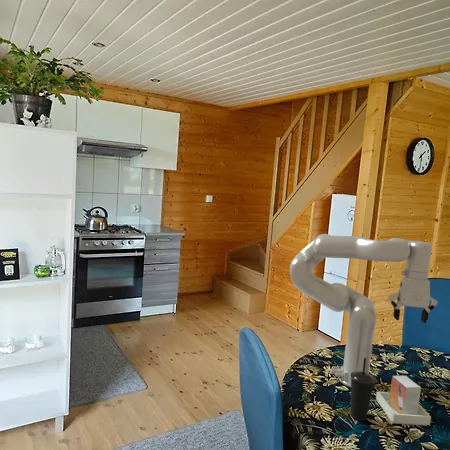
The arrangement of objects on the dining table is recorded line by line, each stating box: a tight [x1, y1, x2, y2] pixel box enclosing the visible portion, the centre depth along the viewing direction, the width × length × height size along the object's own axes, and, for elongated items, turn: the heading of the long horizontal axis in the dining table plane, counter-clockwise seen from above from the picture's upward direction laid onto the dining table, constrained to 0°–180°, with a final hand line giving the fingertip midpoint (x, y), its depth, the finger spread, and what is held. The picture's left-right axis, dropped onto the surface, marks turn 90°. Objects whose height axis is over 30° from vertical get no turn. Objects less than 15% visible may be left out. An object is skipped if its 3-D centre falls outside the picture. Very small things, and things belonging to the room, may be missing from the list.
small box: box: [389, 375, 422, 415], centre depth 135 cm, size 8×6×10 cm
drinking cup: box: [350, 358, 376, 422], centre depth 129 cm, size 8×8×20 cm
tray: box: [375, 391, 432, 427], centre depth 135 cm, size 12×14×3 cm
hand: (409, 320), depth 147 cm, fingers open, 9 cm apart
